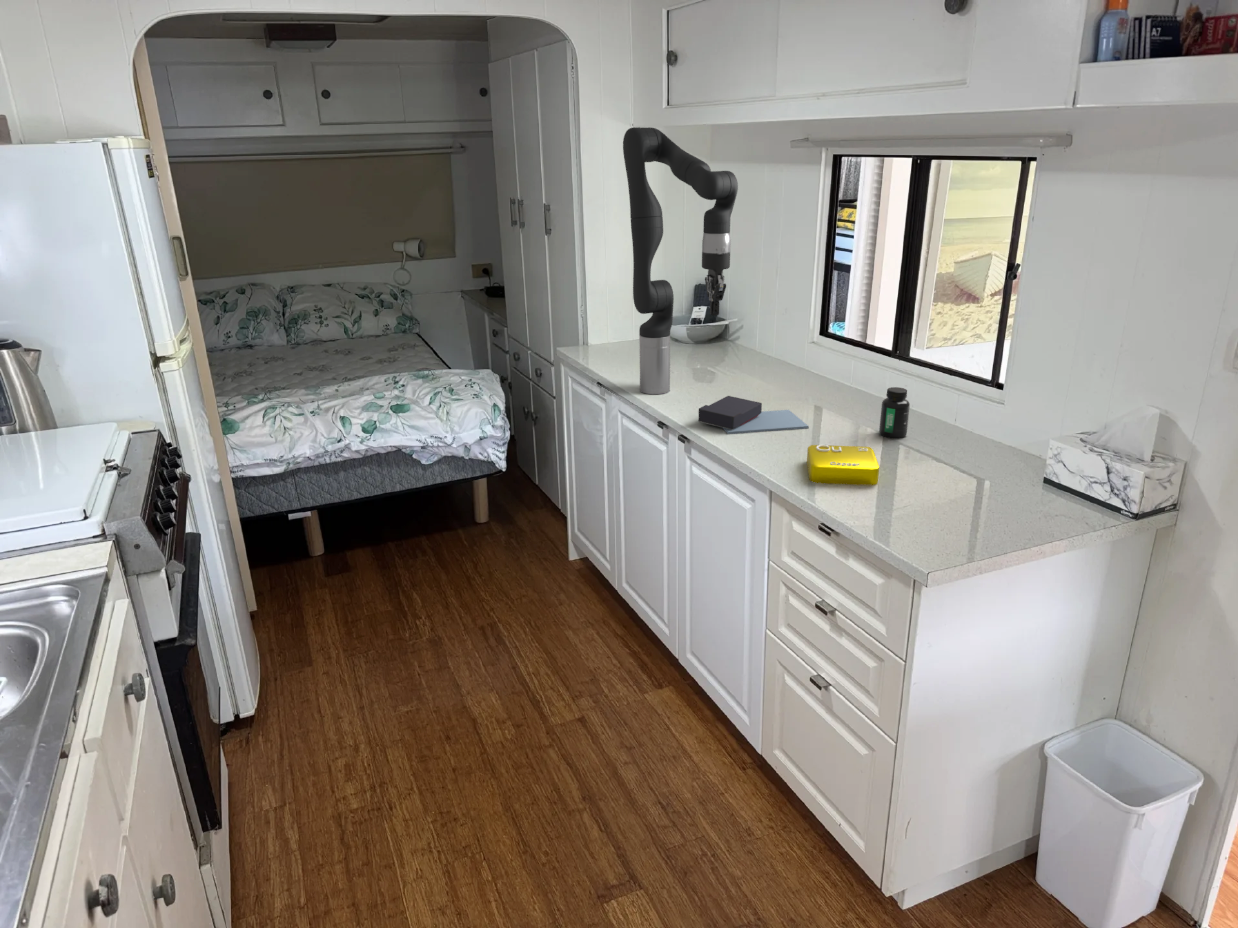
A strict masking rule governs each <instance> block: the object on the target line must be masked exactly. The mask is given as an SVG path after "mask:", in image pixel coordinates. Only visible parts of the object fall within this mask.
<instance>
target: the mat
mask: <svg viewBox="0 0 1238 928" xmlns="http://www.w3.org/2000/svg"><path fill="white" fill-rule="evenodd" d="M809 427H810V426H809V425H808V424H807V423H805V421H803V420H802V419H800V417H798V416H797V415H796V414H794V412H792V411H791V410H790V409H780V410H778V409H777V410H764V411H762V410H761V414H759V415H758V416H757V417H755V418H753V419H751V420H750V421H748V422H746V423H744V424H743V425H741V426H738V427H736V428H734V429H733V430H731V429H727V428H723V427H721V429H723V431H724V432H726V433H727V434H728V435H735V434H736V435H737V434H747V433H762V432H774V431H791V430H804V429H809Z"/></svg>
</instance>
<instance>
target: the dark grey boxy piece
mask: <svg viewBox="0 0 1238 928" xmlns="http://www.w3.org/2000/svg"><path fill="white" fill-rule="evenodd" d="M762 404H763V403H762V402H761V401H754V400H751V399H750V400H749V399H744V398H741V397H737V396H731V395H727V396H725V397H723V398H721V399H719V400H717V401H714V402H713V403H710V404H709V405H707V404H705V405H703V406H701V407H700V408H698V422H700V423H703V424H707V425H711V426H715V427H719V428H722V427H723V428H727V429H731V430H733V429H734V428H736V427H738V426H741V425H743V424H744V423H746V422H748V421H750V420H751V419H753V418H755V417H757V416H758V415H759V414H761V412H762V406H763V405H762ZM723 428H722V429H723Z"/></svg>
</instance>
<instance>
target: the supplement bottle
mask: <svg viewBox="0 0 1238 928" xmlns="http://www.w3.org/2000/svg"><path fill="white" fill-rule="evenodd" d="M885 395H886V398H884V399H883V400H882V401H881V405H880V417H879V418H880V419H879V428H878V433H879V435H880V436H882V437H883V438H887V439H895V440H897V439H903V438H905V437H906V436H907V434H908V433H907V432H908V426H909V418H910V417H909V416H910V410H911V409H910V407H911V404H910V402H909V400H908V399H907V398H908V390H907V389H906V388H903V387H897V386H896V387H894V386H893V387H889V388H887V389H886V394H885Z"/></svg>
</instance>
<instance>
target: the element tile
mask: <svg viewBox="0 0 1238 928" xmlns="http://www.w3.org/2000/svg"><path fill="white" fill-rule="evenodd" d="M876 456H877V455H876V453H875V450H874V449H872V447H871V446H859V445H856V446H855V445H854V446H853V445H827V444H810V445H809V446H808V447H807V454H806V466H807V472H808V473H807V474H808V479H809V481H810V482H812V483H814V482H815V484H824V483H825V484H827V485H828V484H829V485H850V486H852V485H853V486H877V485H878V484H879V475H880V464H879V462H878V459H877V457H876ZM825 484H824V485H825Z"/></svg>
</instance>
